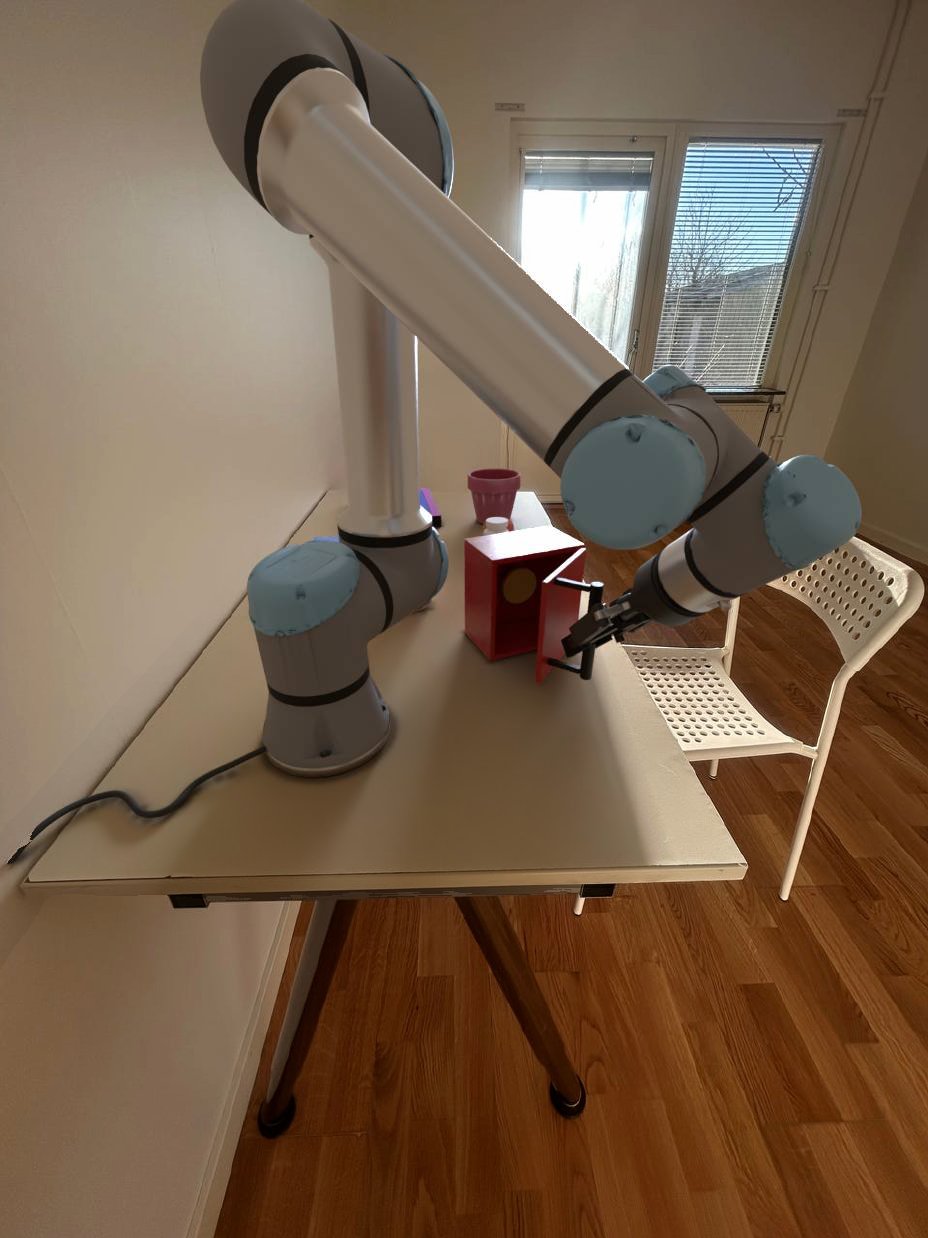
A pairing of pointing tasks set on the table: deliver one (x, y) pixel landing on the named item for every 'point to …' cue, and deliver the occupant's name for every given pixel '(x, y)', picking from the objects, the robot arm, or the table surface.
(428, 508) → the book
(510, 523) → the apple
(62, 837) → the table surface
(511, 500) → the flower pot
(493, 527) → the pill bottle
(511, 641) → the cabinet
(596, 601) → the red cabinet door
